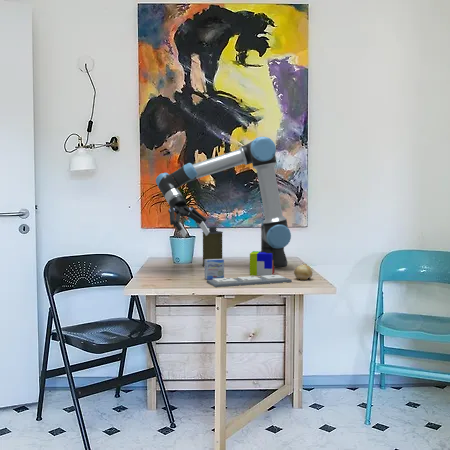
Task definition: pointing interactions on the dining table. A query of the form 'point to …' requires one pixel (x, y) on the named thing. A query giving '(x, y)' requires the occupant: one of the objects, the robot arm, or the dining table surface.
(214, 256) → the canister
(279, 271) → the dining table surface
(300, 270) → the onion
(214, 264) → the medicine box
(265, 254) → the puzzle toy
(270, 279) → the digit board
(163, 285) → the dining table surface
